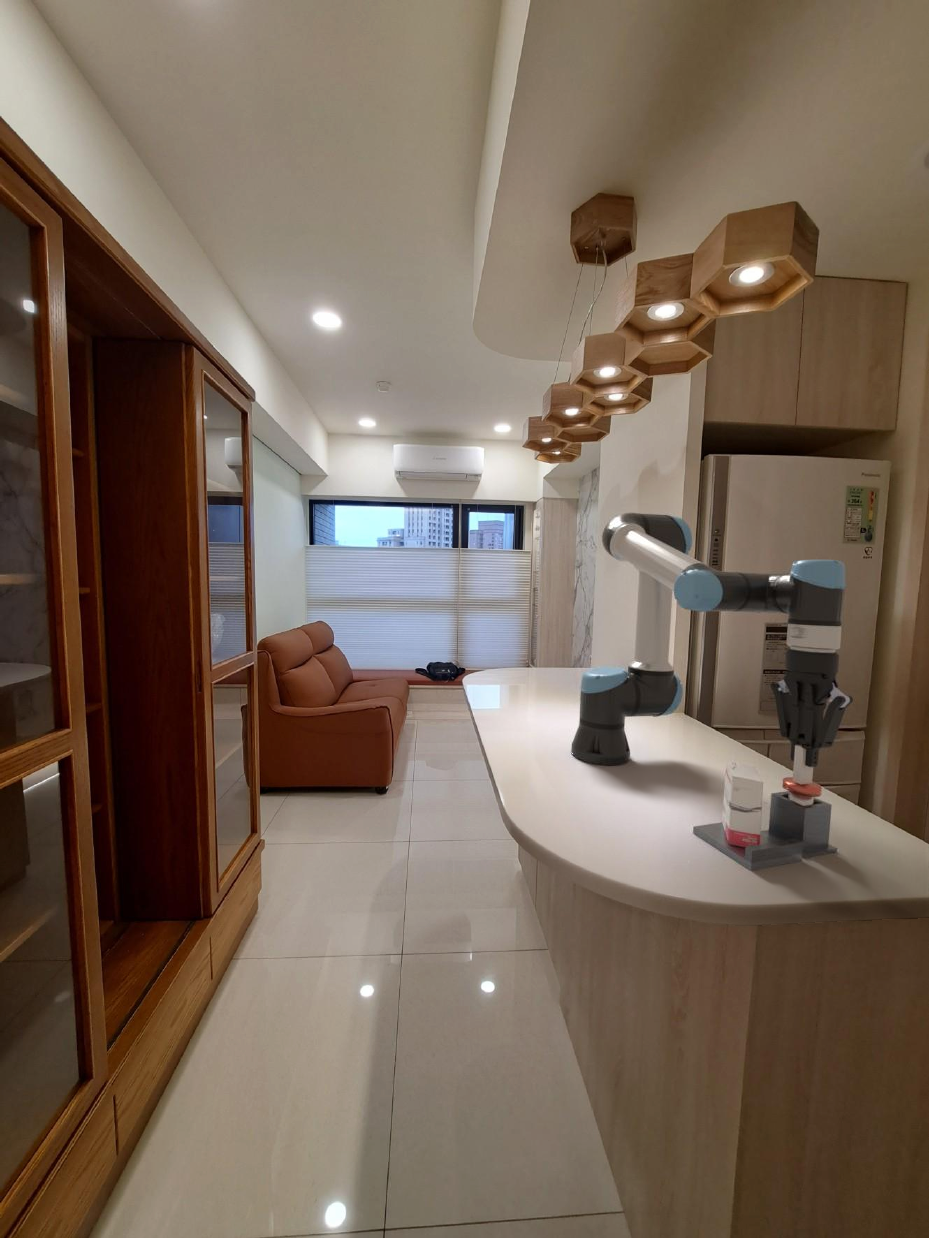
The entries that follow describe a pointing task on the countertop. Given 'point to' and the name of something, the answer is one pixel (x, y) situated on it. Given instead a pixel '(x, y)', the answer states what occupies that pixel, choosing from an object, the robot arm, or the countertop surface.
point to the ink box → (742, 805)
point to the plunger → (801, 791)
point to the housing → (801, 823)
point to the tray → (752, 848)
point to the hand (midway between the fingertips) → (802, 781)
